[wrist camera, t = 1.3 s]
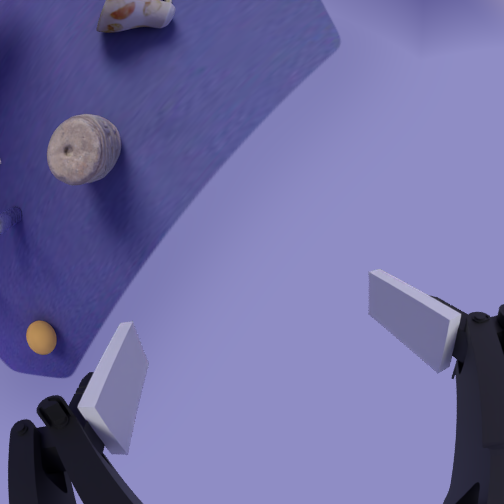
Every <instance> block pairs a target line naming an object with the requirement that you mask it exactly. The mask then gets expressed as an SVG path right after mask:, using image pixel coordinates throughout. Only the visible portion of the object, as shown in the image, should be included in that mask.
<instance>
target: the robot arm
mask: <svg viewBox="0 0 504 504" xmlns="http://www.w3.org/2000/svg"><path fill="white" fill-rule="evenodd" d="M369 315H370V316H371V317H372V318H374V319H375V320H376V321H377V322H378V323H380V324H381V325H382V326H383V327H384V328H386V329H387V330H388V331H389V332H391V334H393V335H394V336H395V337H396V338H397V339H399V340H400V341H401V342H402V343H403V344H404V345H406V346H407V347H408V348H409V349H410V350H412V351H413V352H414V353H415V354H416V355H417V356H418V357H420V358H421V359H422V360H423V361H424V362H425V363H427V364H428V365H429V366H430V367H431V368H432V369H433V370H435V371H436V372H437V373H439V372H441V371H443V370H445V369H446V368H448V367H449V366H450V362H451V358H452V356H453V357H455V358H456V359H457V361H456V365H455V368H454V371H453V375H452V379H454V376H455V375H456V386H457V424H456V443H455V454H454V463H453V471H452V478H451V484H450V489H449V492H448V494H447V496H446V498H445V500H444V503H443V504H504V304H503V305H501V306H500V307H499V312H498V315H497V316H494V317H490V316H489V315H487V314H485V313H482V312H472V313H470V314H469V315H468V314H466V313H464V312H462V311H461V310H459V309H457V308H455V307H454V306H452V305H451V306H450V304H448V303H446V302H445V301H443V300H441V299H439V298H437V297H433V296H429V295H427V294H425V293H423V292H421V291H420V290H418V289H416V288H414V287H412V286H411V285H409V284H407V283H405V282H403V281H401V280H399V279H397V278H395V277H393V276H392V275H390V274H388V273H386V272H384V271H382V270H380V269H377V270H374V271H370V272H369ZM148 365H149V362H148V360H147V357H146V355H145V352H144V350H143V347H142V345H141V342H140V340H139V337H138V334H137V331H136V329H135V326H134V323H133V322H125V323H120V324H119V326H118V328H117V330H116V332H115V333H114V335H113V337H112V339H111V341H110V343H109V344H108V347H107V348H106V350H105V352H104V354H103V356H102V358H101V360H100V362H99V363H98V366H97V368H96V370H95V371H94V372H89V373H88V374H87V375H86V376H85V377H84V378H83V379H82V381H81V383H80V385H79V388H77V390H76V394H74V396H73V398H72V400H71V402H70V404H69V406H68V405H67V403H66V402H65V400H64V399H63V398H62V397H61V396H58V395H55V396H50V397H47V398H45V399H44V400H42V402H41V403H40V404H39V405H38V407H37V413H38V415H39V417H40V418H41V419H42V421H43V422H44V423H45V425H46V426H45V427H39V428H36V427H35V425H34V424H33V423H32V422H31V421H30V420H27V419H26V420H21V421H18V422H17V423H15V424H14V426H13V427H12V429H11V433H10V443H9V461H8V489H9V504H76V500H75V496H74V492H73V488H72V483H73V485H74V487H75V489H76V491H77V493H78V495H79V496H80V498H81V500H82V501H83V503H84V504H143V503H142V502H141V501H140V500H139V499H138V497H137V496H136V495H135V494H134V493H133V491H132V490H131V489H130V488H129V487H128V486H127V484H126V483H125V482H124V480H123V479H122V478H121V477H120V475H119V474H118V472H117V471H116V470H115V469H114V467H113V466H112V464H111V463H110V462H109V460H108V459H107V457H106V456H105V455H104V454H103V450H104V446H106V448H107V449H108V450H109V451H110V453H111V454H126V455H127V454H128V451H129V446H130V441H131V436H132V432H133V427H134V422H135V418H136V413H137V409H138V405H139V401H140V396H141V392H142V388H143V384H144V380H145V376H146V373H147V369H148ZM71 482H72V483H71Z"/></svg>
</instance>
